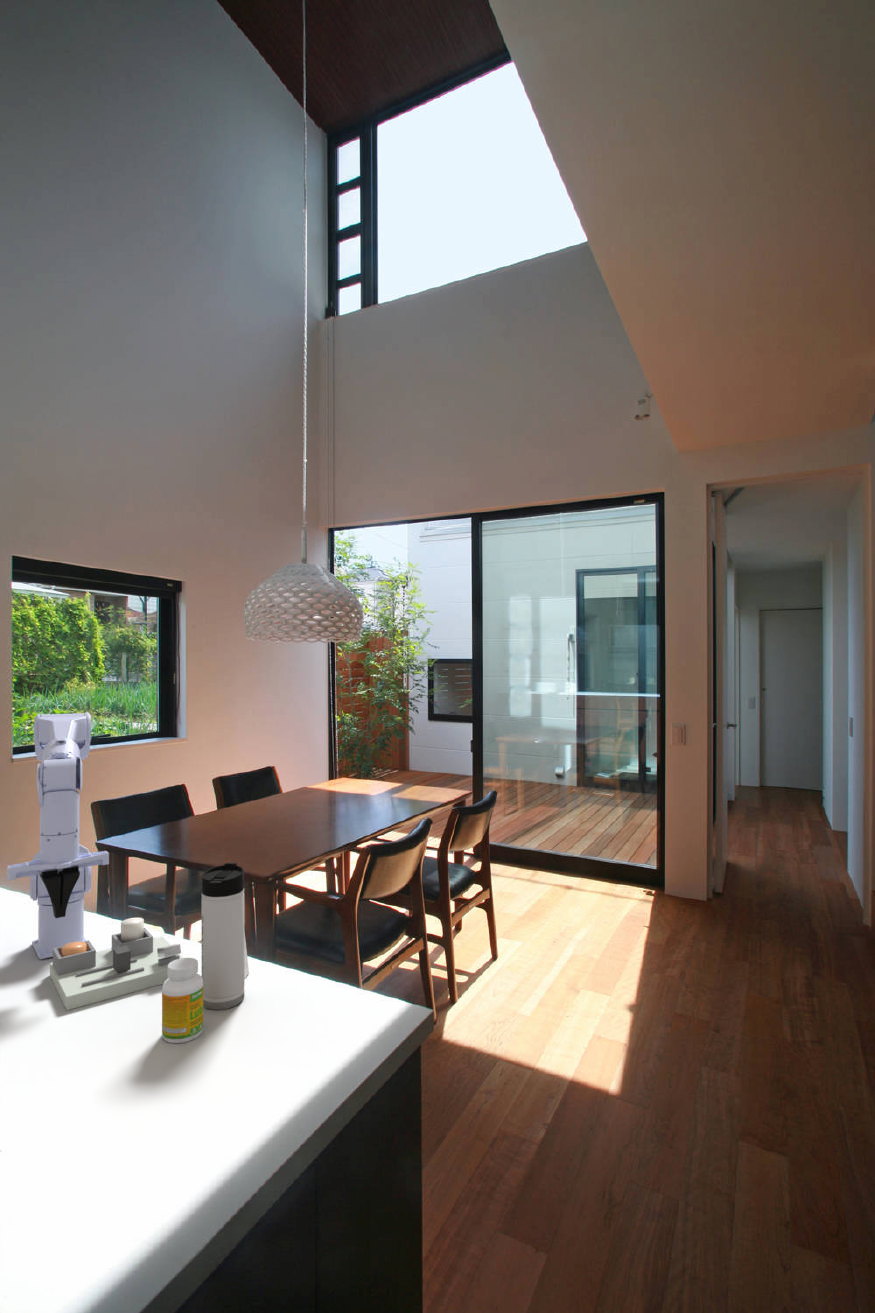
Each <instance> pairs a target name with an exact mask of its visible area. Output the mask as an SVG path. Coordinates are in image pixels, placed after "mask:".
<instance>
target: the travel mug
mask: <svg viewBox="0 0 875 1313" xmlns="http://www.w3.org/2000/svg"><path fill="white" fill-rule="evenodd" d="M244 883H245V870H244V868H243V867H242V866H241V865H239V864H237V862H226V863H224V864H222V865H218V866H217V865H216V866H213V867H211V868H208V869H207V870H205V871H204V872H202V875H201V906H200V907H201V977H202V978H203V1008H205V1009H208V1010H212V1011H213V1010H214V1011H219V1010H220V1011H221V1010H222V1011H223V1010H228V1009H231V1008H233V1007H236V1006H238V1005H239V1004H241V1002H243V1000H244V999H245V979H244V931H245V884H244ZM227 1008H228V1009H227Z"/></svg>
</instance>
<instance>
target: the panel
mask: <svg viewBox="0 0 875 1313" xmlns="http://www.w3.org/2000/svg"><path fill="white" fill-rule="evenodd" d="M83 942H86V952H82V953H78V954H74V955H69V956H65V957H62V947H63V946H61V947H57V948H53V957H52V962H50V963H49V976H50V978H51V980H52V983H53V985H54V987H55V989H56V991H57V993H58V996H59V998H60V1000H61V1002H62V1004H63V1006H64V1008H65V1010H66V1011H70V1010H73V1009H77V1008H81V1007H84V1006H87V1005H88V1006H89V1005H91V1004H95V1003H98V1002H101V1001H106V1000H109V999H113V998H116V997H120V996H124V995H127V994H132V993H133V992H138V991H141V990H145V989H149V988H151V987H156V986H159V985H163V984H164V982H165V981H166V980H167V979H168V975H167V967H168V964H169V963H170V962H172V961H174V960H177V959H181V958H184V957H183V956H182V955H181V953H180V954H176V955H172V956H168V957H158V953H157V948H161V947H165V946H169V945H171V944H170V942H168V941H167V940H166V938H164V936H159V937H154V936H153V935H152V934H151V933H150V932H149V931H148V930H147V929H146V927H144V938H141V939H137V940H133V941H129V942H125V943H123V942H121V932H119V933H115V934H112V935H111V948H107V949H103V950H100V951H96V948H95V947H94V946H93V944H92V942H91V941H90V940H86V941H83ZM122 946H127V947H128V948H129V950H130V951H131V970H128V971H124V972H120V973H117V972H116V971H115V969H114V968H113V949H114V948H118V947H122Z"/></svg>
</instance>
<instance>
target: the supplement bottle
mask: <svg viewBox="0 0 875 1313" xmlns="http://www.w3.org/2000/svg"><path fill="white" fill-rule="evenodd" d="M198 972H199V961H198V959H197V958H193V957H183V958H181V959H177V960H174V961H172V962H170V963H169V964H168V967H167V975H168V979H167V980H166V981H165V982H164V983H163V984H162V987H161V995H162V996H161V1036H162V1039H163V1040H164V1041H165V1042H167V1043H169V1044H181V1043H187V1042H190V1041H193V1040H194V1039H196V1038H198V1037H199V1036H200V1035H201V1034H202V1033H203V1031H204V1006H203V978H202V975H200V974H199V973H198Z"/></svg>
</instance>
